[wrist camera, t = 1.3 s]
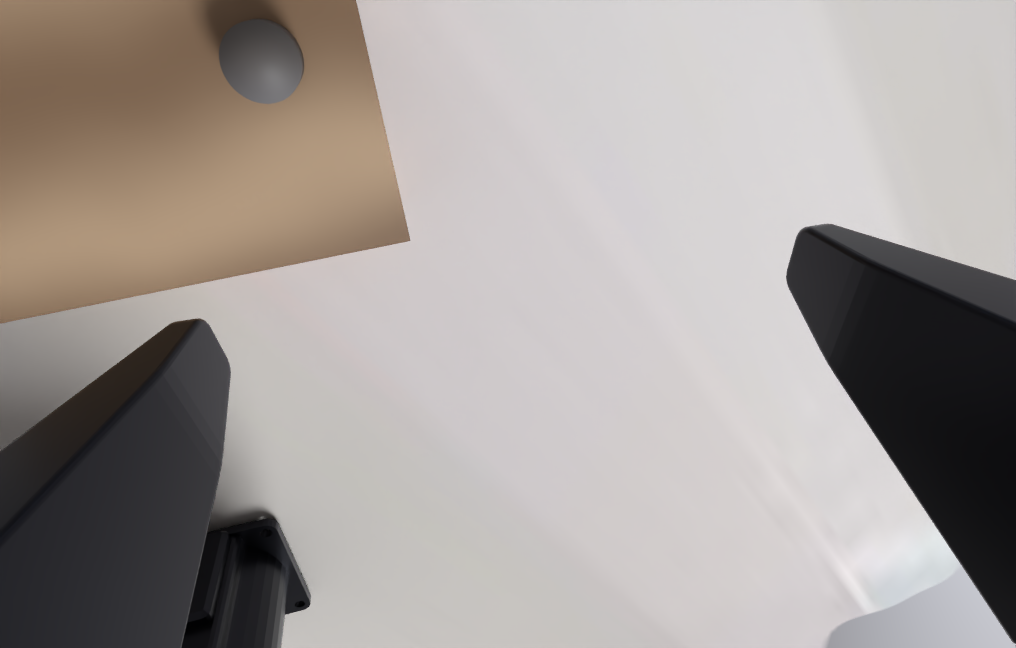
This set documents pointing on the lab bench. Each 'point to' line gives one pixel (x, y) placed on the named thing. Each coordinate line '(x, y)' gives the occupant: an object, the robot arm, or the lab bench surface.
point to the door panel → (183, 145)
